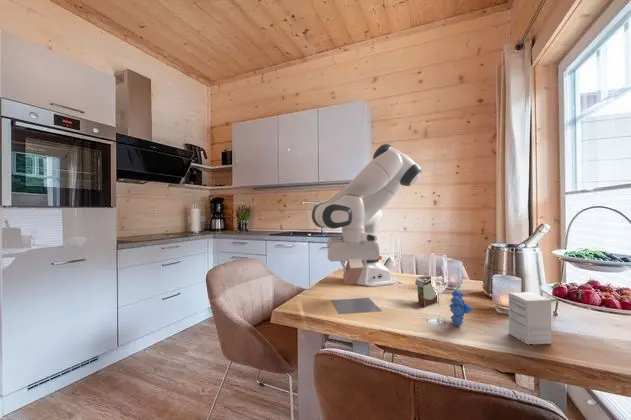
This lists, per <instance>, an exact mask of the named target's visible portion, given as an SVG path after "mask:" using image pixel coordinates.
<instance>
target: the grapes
mask: <svg viewBox="0 0 631 420" xmlns="http://www.w3.org/2000/svg"><path fill="white" fill-rule="evenodd" d="M451 296H452V297H451V299H450V301H451V304H449V308H450V311H451V313H452V314H453V315H451V316H450V319H451V321H452V323H453V324H454V325H455V326H457V327H460V326H461V325H462V324H464V321H463V320H464V319H465V317H464V316H465V314H466V315H467V314H470V313H471V312H472V311H473V308H472V307H471V306H470V305H469V304H468V303H467V304H465V300H464V299H463V297H464V296H465V295H464V294H463V292H462V291H461V290H460V289H455V290H454V291H452V292H451Z"/></svg>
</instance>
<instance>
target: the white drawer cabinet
mask: <svg viewBox="0 0 631 420" xmlns="http://www.w3.org/2000/svg"><path fill="white" fill-rule="evenodd" d="M508 334H509V335H511V336H513V337H514V338H515V337H516V339H517V340H519V341H520V340H521V341H520V342H521V343H523V342H524V344H525V343H526V344H525V345H527V344H528V345H527V346H529V344H533V345H550V343H551V344H552V300H551V299H550V298H548V297H545V296H543V295H539V294H537V293H535V292H530V291H526V292H525V291H523V292H508Z"/></svg>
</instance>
